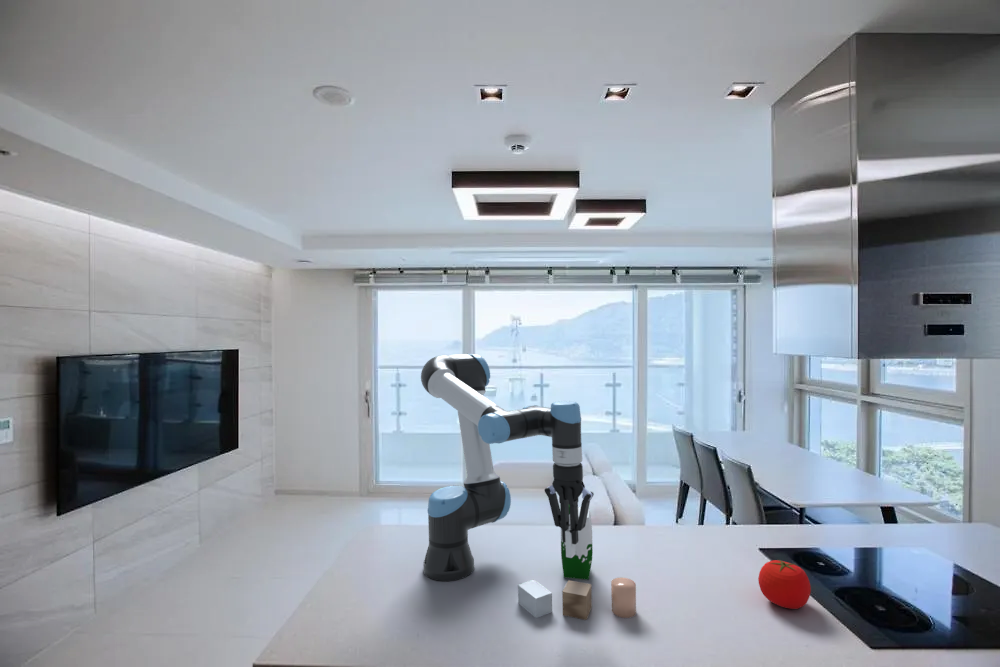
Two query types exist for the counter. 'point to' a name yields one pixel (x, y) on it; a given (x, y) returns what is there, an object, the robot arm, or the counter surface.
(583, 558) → the milk carton
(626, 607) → the peach domed cylinder
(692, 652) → the counter surface
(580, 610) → the walnut cube
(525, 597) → the grey brick
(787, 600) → the tomato
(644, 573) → the counter surface
